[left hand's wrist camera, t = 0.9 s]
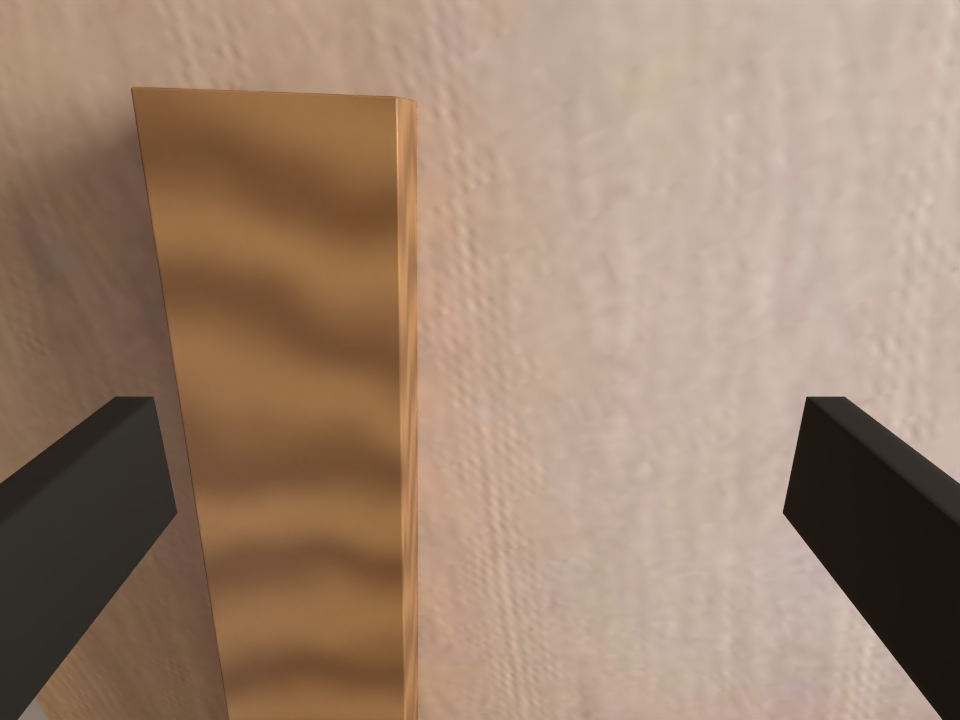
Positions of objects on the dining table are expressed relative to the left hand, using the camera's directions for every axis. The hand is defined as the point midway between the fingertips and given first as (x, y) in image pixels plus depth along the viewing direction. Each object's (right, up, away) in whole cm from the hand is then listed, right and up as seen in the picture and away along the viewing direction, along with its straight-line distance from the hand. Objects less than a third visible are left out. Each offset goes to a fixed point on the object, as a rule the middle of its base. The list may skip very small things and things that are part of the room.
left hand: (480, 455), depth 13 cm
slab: (-8, -11, +24) cm, 28 cm away
